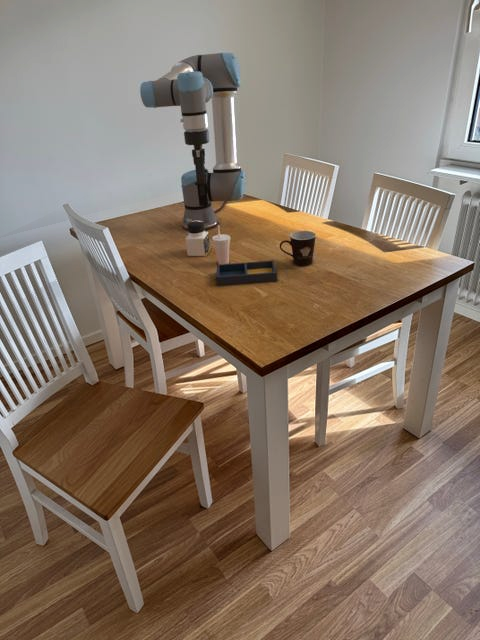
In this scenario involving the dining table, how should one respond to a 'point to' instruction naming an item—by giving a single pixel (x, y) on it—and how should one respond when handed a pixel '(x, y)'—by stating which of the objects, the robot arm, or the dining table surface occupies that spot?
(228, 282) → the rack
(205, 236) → the medicine bottle
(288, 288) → the dining table surface
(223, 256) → the smoothie
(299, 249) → the coffee mug
